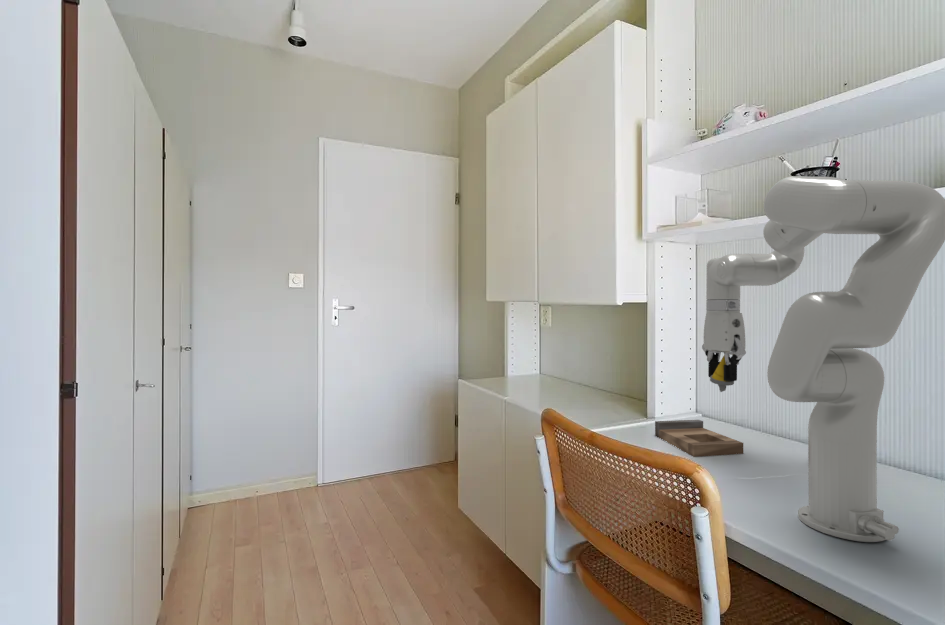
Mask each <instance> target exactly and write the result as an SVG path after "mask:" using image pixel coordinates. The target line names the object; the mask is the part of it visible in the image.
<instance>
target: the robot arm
mask: <svg viewBox="0 0 945 625" xmlns="http://www.w3.org/2000/svg"><path fill="white" fill-rule="evenodd" d="M763 209H764V210H763V211H764V213H765V216H766V217H767V219H769V220H768V221H767V222H766V223H765V224H764V227H763V238H764V240H765V242H766V243H767V245H768V246H769V247H770V248H771V249H773V251H772V252H769V253H729V254H725V255H723V256H721V257H717V258H711V259H709V260H708V261H707V263H706V292H705V293H706V296H705V297H706V305H705V306H706V308H705V310H706V311H705V318H704V326H703V344H702V345H701V349H702V350H703V352H704V354H705V356H706V360H707V362H708V364H707V365H708V369H707V370H708V371H707V372H708V373H707V374H708V378H710V376H711V375H713V374H714V372H715V370H716V368H717V367H718V365H719V363H720V358H721V355H722V353H723V354H724V355H723V356H725V362H726V365H724V381H734V382H736V381H738V365H740V361H741V360H742V358H743V357H744V356H745V355H746V354H747V351H746V329H745V328H746V327H745V321H744V317H743V313H742V312H741V287H746V286H749V287H750V286H751V287H753V286H754V287H756V286H757V287H758V286H760V287H765V286H766V287H768V286H773V285H776V284H778V283H780V282H782V281H784V280H785V279H786V278H788V277H790V276H791V275H792V274H794V273H795V272H796V271H797V270H798V269H799V268H800V266H801V264H802V262H803V260H804V256H805V247H806V246H808V245H810V244H811V243H812V242H813V241H815V240H816V239H817V238H818V237H820V236H821V235H823V234H829V235H830V234H831V235H878V236H879V239H878V240H877V241H875V243H873V244H872V245H871V246H870V247H868V248H867V249H866V250H865V251H864V252H863V253H862V254H861V255H860V256H859V258H858V259H857V260H856V262H855V263H854V264H853V267H852V268H851V273H850V275H849V277H848V279H847V281H846V283H845V285H844V287H843V288H842V289H840V290H837V291H815V292H814V291H813V292H809V293H806V294H804V295H801V296H800V297H798V298H797V299H796V300H795V301H794V302H793V303H792V304H791V305H790V307H789V308H788V310H787V311H786V314H785V317H784V319H783V322H782V324H781V327H780V329H779V333H778V336H777V338H776V341H775V343H774V346H773V349H772V352H771V354H770V358H769V361H768V366H767V375H766V376H767V382H768V386H769V388H770V390H771V391H772V392H773V394H774V395H776V396H777V397H779V398H780V399H782V400H783V401H788V402H792V403H815V405H814V407H813V409H812V411H811V413H810V414H809V415H810V416H809V419H808V424H807V425H808V428H807V434H808V435H807V436H808V437H807V442H808V443H807V447H808V449H807V450H808V451H807V452H808V453H807V456H808V460H807V461H808V465H807V466H808V468H807V469H808V472H807V473H808V475H807V476H808V480H807V481H808V505H804V506H802V507H799V509H798V510H797V511H798V512H797V517H798V518H799V520H800V521H801V523H803V524H804V525H806V526H808V527H810V528H812V529H813V530H815V531H818V532H820V533H823V534H826V535H828V536H832V537H836V538H839V539H844V540H849V541H855V542H861V543H879V542H884V541H892V540H894V539H895V537H896V535H897V534H898V533H899V530H900V528H899V526H898V525H895V524H893V523H891V522H888V521H885V519H884V510H882V509H879V508H878V484H877V483H878V482H877V481H878V478H877V476H878V471H877V470H878V467H877V466H878V463H877V462H878V457H877V456H878V451H877V450H878V449H877V447H878V446H877V442H878V434H877V433H878V415H879V414H878V412H879V406H880V403H881V398H882V394H883V390H884V386H885V373H884V367H883V366H882V365H881V363H880V361H879V360H878V359H877V358H876V357H875V356H873V354H870V353H869V352H867V351H864V350H861V349H872V348H878V347H882V346H884V345H887V344H888V343H889V342H890V341H891V340H892V339H893V338H894V336H895V335H896V333H897V331H898V329H899V327H900V326H901V324H902V321H903V319H904V317H905V315H906V313H907V311H908V309H909V307H910V304H911V302H912V300H913V299H914V297H915V294H916V293H917V290H918V288H919V285H920V282H921V280H922V279H923V277H924V275H925V274H926V272H927V270H928V268H929V267H930V265H931V264H932V262H933V260H934V259H935V257H936V256H937V255H938V253H939V252H940V250H941V248H942V246H943V244H944V242H945V198H944V196H943V195H942V194H941V193H940V192H939V191H937V190H936V189H935V188H933V187H930V186H928V185H926V184H923V183H920V182H919V183H918V182H914V181H907V180H885V179H881V180H879V179H876V180H875V179H874V180H871V179H869V180H866V179H865V180H864V179H863V180H862V179H861V180H860V179H842V178H839V177H833V176H805V175H804V176H803V175H797V176H796V175H795V176H794V175H793V176H787V177H784V178H782V179H780V180H779V181H777V182H775V184H773V185H772V186H771V187H770V189H768V192H767V193H766V194H765V198H764V201H763Z"/></svg>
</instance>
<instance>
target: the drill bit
mask: <svg viewBox="0 0 945 625" xmlns="http://www.w3.org/2000/svg"><path fill="white" fill-rule="evenodd" d="M719 362H720V363H719V365H718V367H717V368H716V370H715V372H714V374H713V375H711V376H710V377H709V381H710V382H711V383H712V384H715V385H717V386H718V388H719V392H720V393H722V392H725V391H726V390H727V387H728V386H734V384H735V381H724V365H726V362H725V356H724V355H723V356H722V358H721V360H719Z"/></svg>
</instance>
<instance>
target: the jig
mask: <svg viewBox="0 0 945 625" xmlns="http://www.w3.org/2000/svg"><path fill="white" fill-rule="evenodd" d="M656 436H657V438H658V437H659V438H658V439H660V438H661V439H660V440H662V439H663V440H662V441H664V440H665V441H667V442H668V443H667V442H666V443H667V444H669V443H670V445H671V444H672V445H671V446H673V445H674V446H673V447H675V446H676V447H677V448H676V447H675V448H676V449H678V448H679V449H678V450H680V449H681V450H680V451H682V452H683V453H685V452H686V454H687V453H688V454H687V455H690V456H691V457H693V458H698V457H714V456H715V457H716V456H731V455H743V454H744V442H743V441H740V440H736V439H733V438H731V437H728V436H726V435H723V434H721V433H718V432H716V431H712V430H709V429H707V428H704V420H701V419H684V420H683V419H681V420H678V419H677V420H676V419H675V420H655V421H654V437H656ZM665 441H664V442H665Z"/></svg>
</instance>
